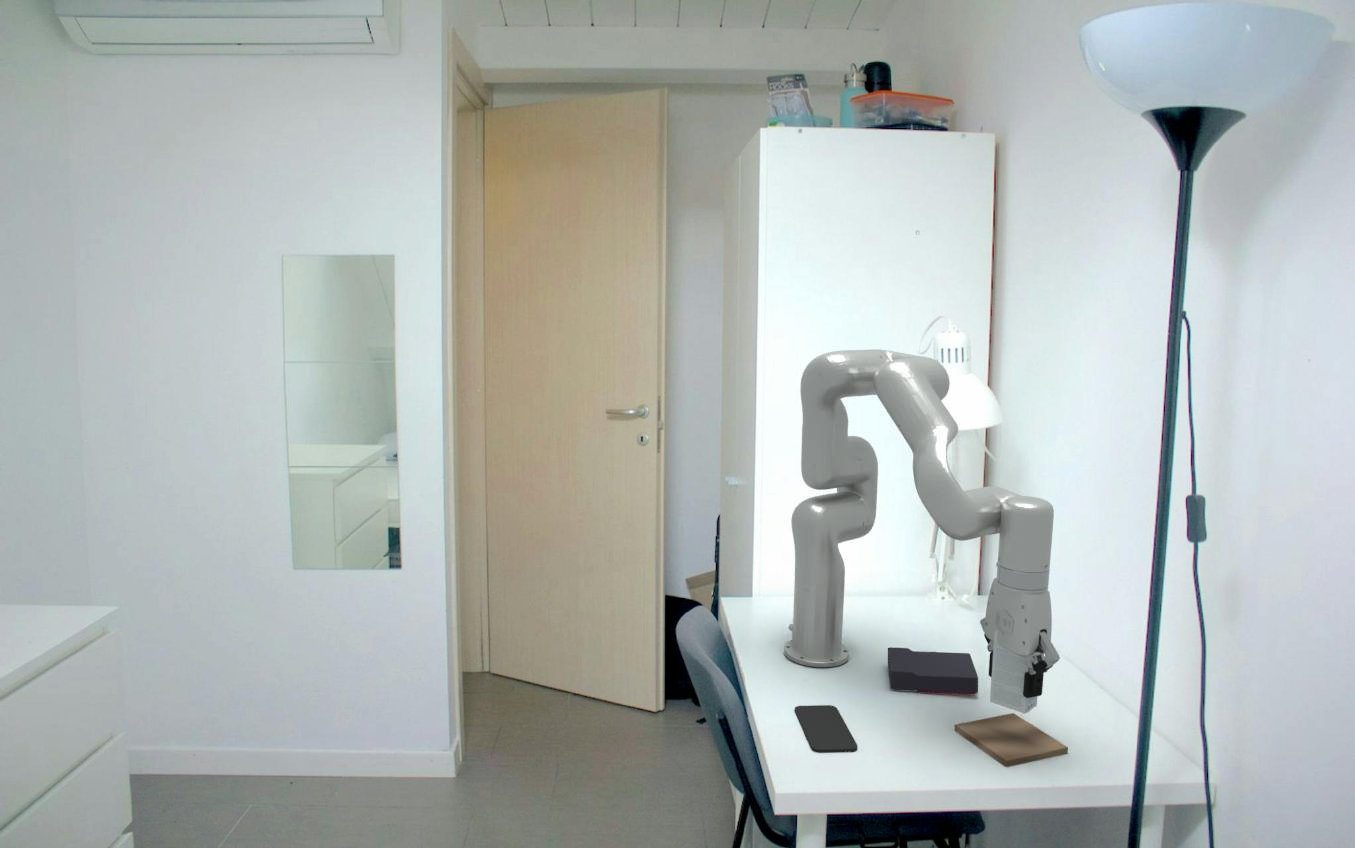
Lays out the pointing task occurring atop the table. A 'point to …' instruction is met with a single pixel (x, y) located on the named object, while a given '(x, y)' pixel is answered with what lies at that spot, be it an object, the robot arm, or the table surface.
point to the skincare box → (1009, 679)
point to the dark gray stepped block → (931, 672)
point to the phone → (825, 729)
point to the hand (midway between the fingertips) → (1014, 685)
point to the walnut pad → (1010, 739)
